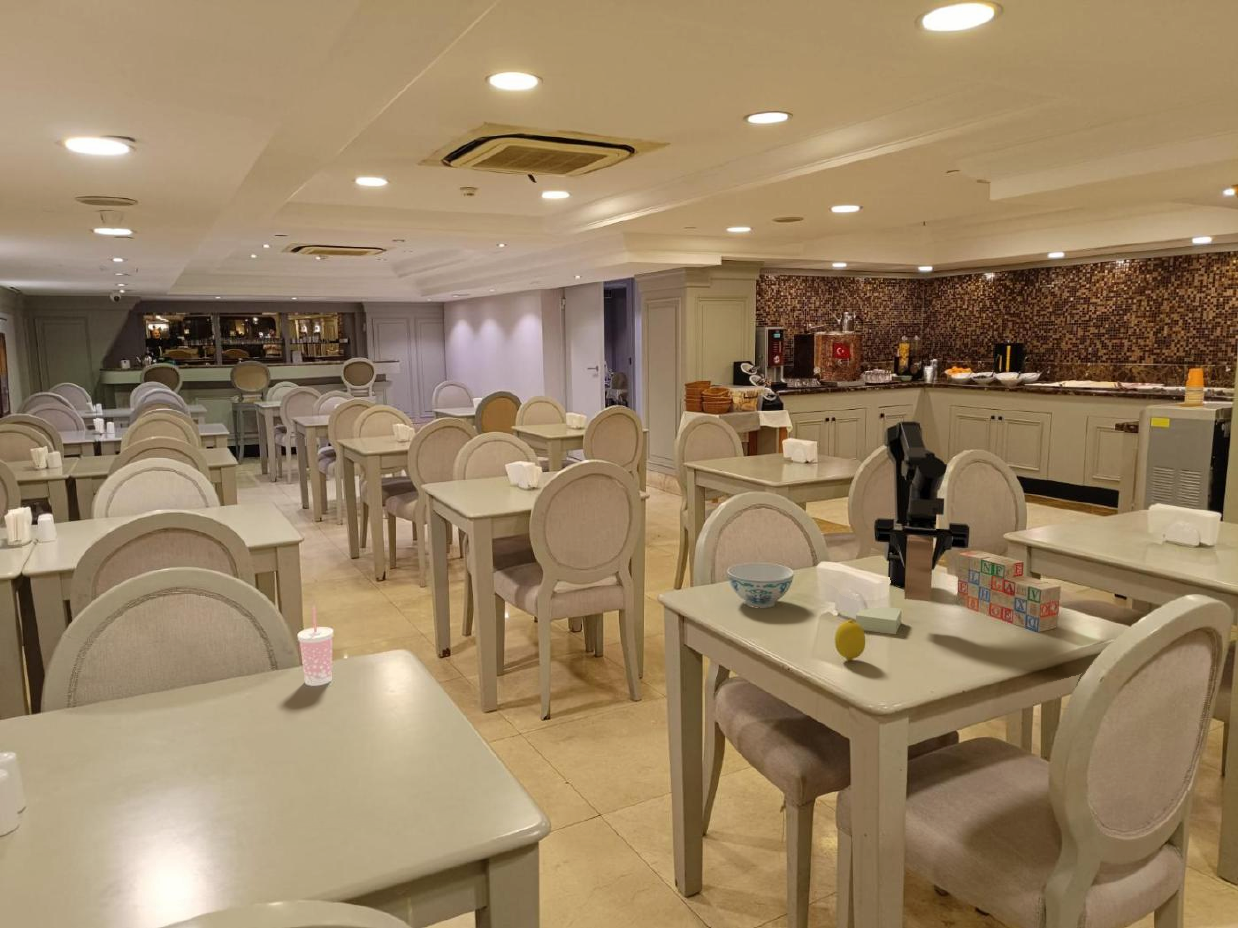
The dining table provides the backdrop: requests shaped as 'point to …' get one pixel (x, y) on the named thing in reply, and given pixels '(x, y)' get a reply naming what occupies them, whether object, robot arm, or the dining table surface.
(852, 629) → the lemon
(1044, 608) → the stack of blocks
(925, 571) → the pillar
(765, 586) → the chinaware
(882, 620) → the base slab
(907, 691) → the dining table surface
